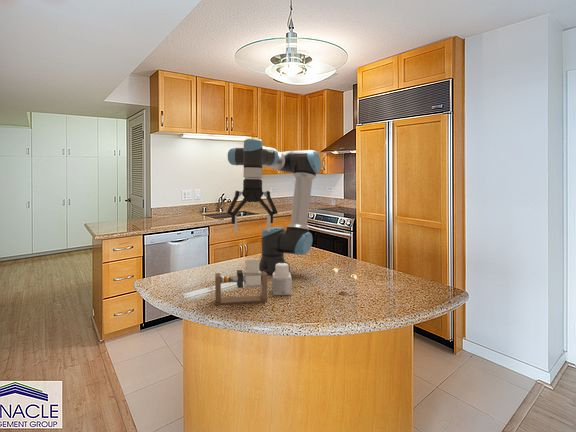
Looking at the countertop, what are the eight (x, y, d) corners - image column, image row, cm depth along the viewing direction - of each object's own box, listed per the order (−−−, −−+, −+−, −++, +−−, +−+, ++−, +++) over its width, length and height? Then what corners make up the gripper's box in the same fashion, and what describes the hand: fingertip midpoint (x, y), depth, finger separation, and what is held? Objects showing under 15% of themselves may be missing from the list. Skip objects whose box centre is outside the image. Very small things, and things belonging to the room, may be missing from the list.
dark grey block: (241, 283, 139) (241, 270, 138) (243, 287, 134) (243, 273, 133) (236, 283, 139) (236, 270, 138) (237, 288, 133) (237, 274, 133)
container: (272, 289, 152) (272, 260, 151) (289, 289, 153) (290, 260, 151) (273, 295, 144) (273, 264, 143) (291, 294, 145) (291, 264, 144)
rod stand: (264, 296, 142) (265, 270, 141) (267, 302, 136) (267, 274, 135) (215, 299, 138) (215, 272, 137) (215, 305, 132) (215, 277, 131)
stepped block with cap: (259, 282, 141) (259, 257, 139) (260, 286, 135) (261, 260, 134) (244, 283, 139) (244, 257, 138) (245, 287, 134) (245, 261, 133)
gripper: (280, 179, 144) (279, 229, 147) (219, 178, 137) (220, 231, 139) (285, 179, 137) (284, 232, 139) (222, 178, 130) (222, 233, 132)
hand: (252, 231), depth 139 cm, fingers open, 13 cm apart
